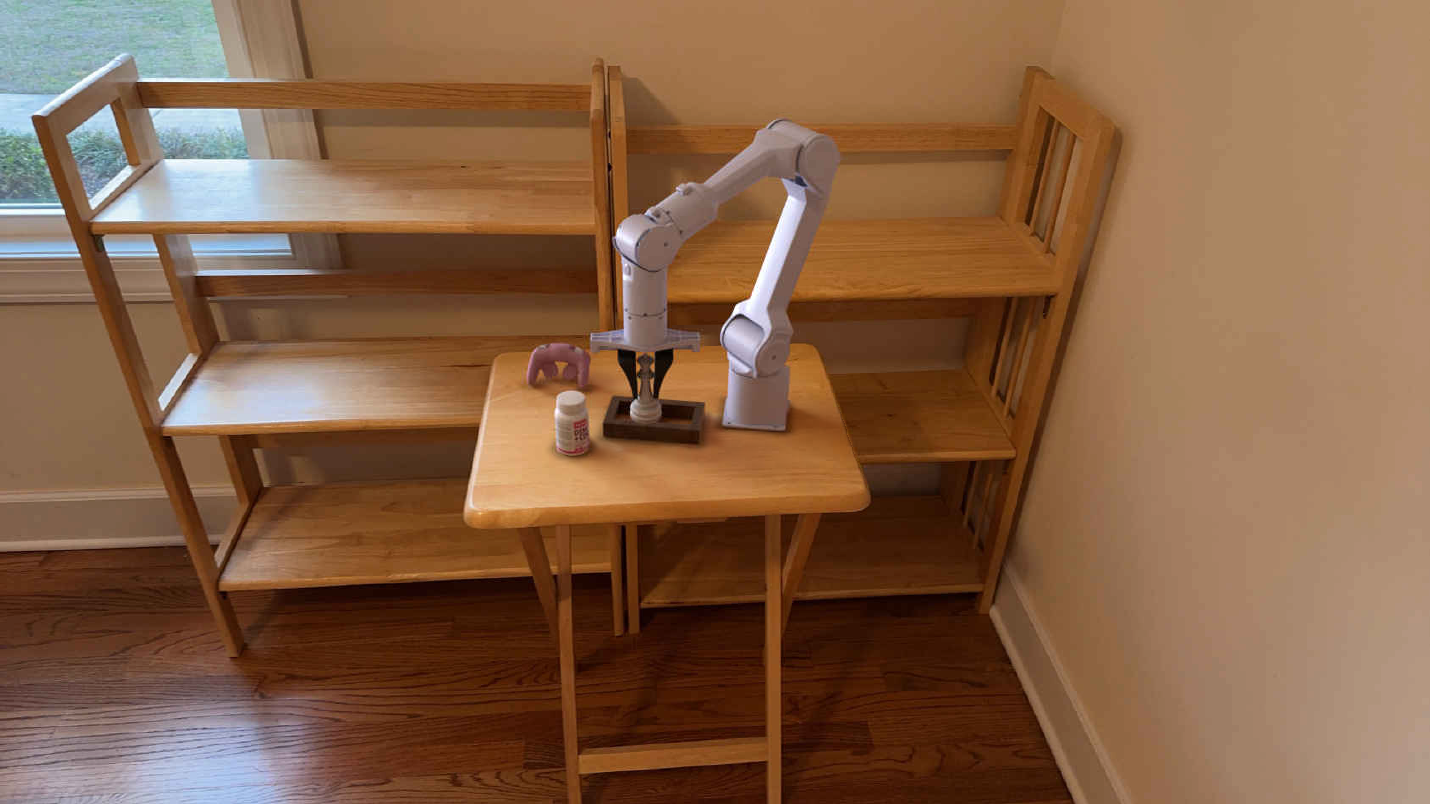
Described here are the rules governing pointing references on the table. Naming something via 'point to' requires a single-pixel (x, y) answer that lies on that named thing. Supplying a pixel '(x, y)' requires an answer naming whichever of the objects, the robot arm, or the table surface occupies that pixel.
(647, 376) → the chess piece
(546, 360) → the video game controller
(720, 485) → the table surface
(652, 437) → the stand
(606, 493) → the table surface
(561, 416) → the pill bottle
